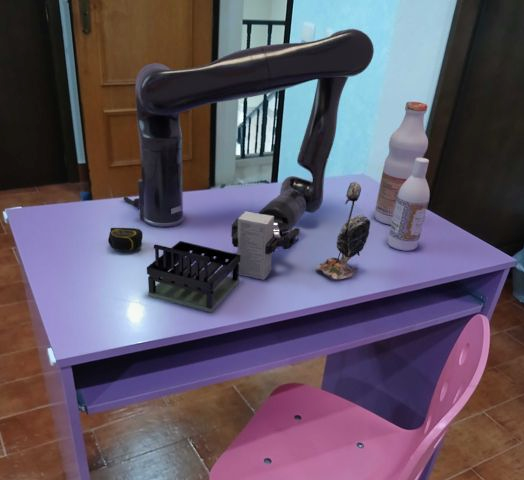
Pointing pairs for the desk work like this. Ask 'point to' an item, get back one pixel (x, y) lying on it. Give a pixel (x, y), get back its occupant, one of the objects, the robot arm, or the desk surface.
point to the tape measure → (125, 239)
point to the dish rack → (192, 275)
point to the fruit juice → (401, 159)
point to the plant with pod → (348, 240)
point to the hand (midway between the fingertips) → (251, 246)
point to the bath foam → (410, 209)
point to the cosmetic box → (254, 244)
